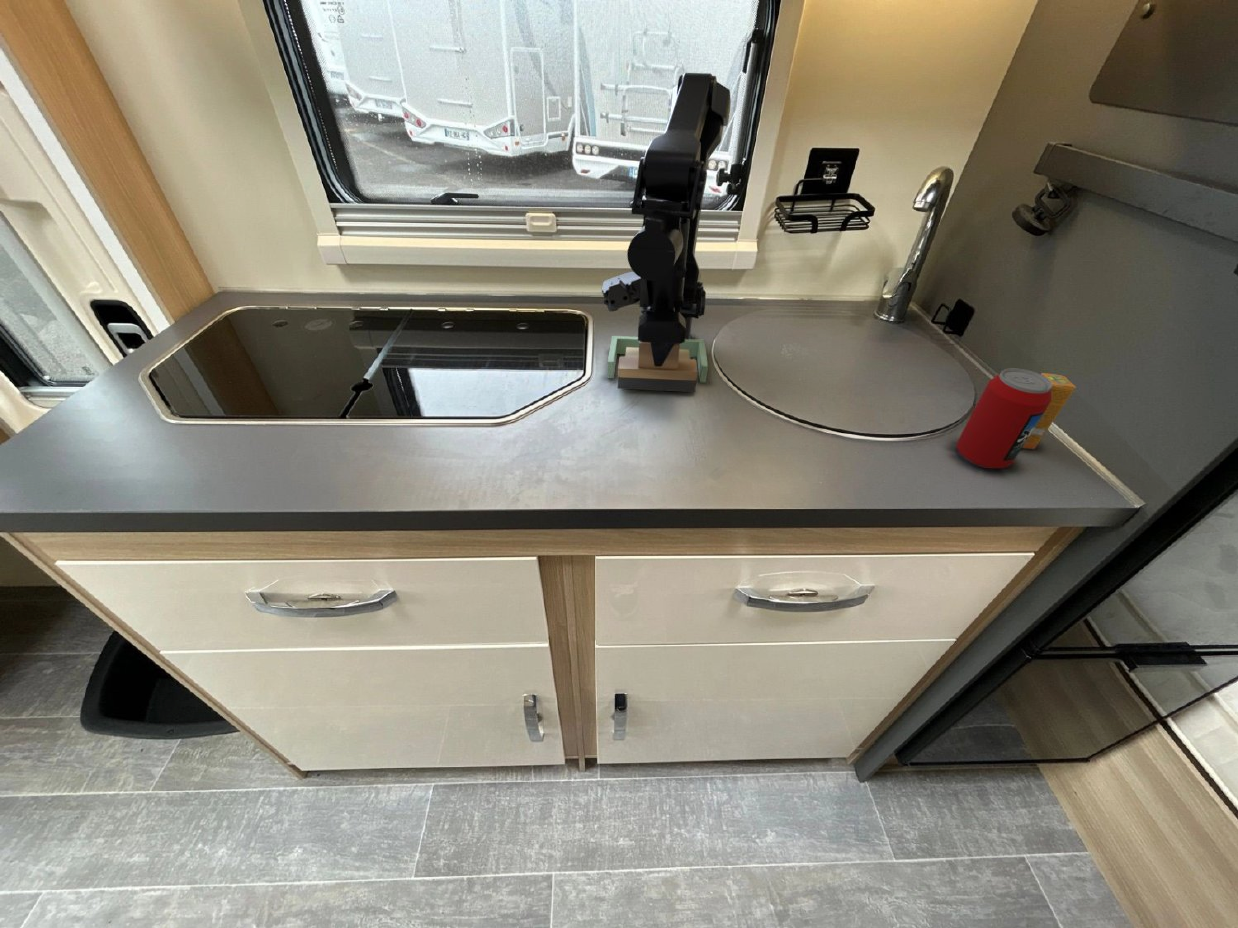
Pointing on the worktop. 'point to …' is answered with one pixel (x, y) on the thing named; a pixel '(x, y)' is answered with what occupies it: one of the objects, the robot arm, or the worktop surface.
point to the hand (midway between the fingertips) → (658, 360)
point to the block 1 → (632, 352)
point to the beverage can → (1004, 417)
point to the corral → (622, 342)
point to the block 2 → (684, 354)
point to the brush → (657, 371)
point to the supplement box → (1051, 407)
